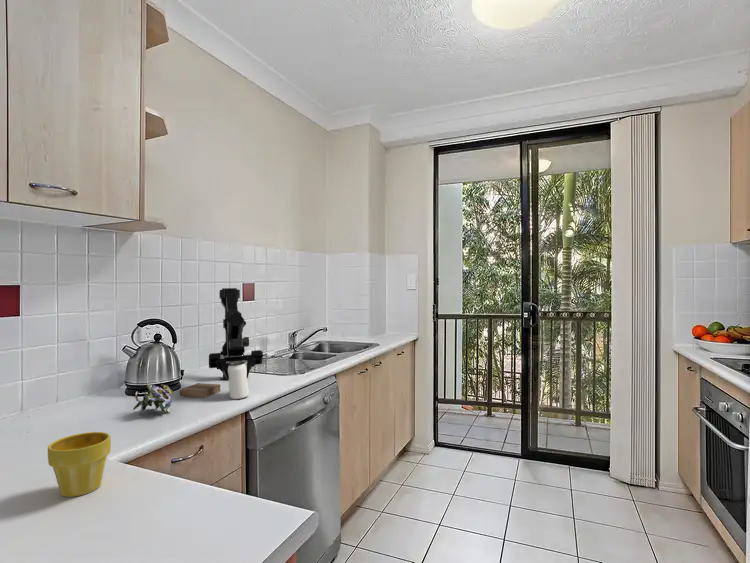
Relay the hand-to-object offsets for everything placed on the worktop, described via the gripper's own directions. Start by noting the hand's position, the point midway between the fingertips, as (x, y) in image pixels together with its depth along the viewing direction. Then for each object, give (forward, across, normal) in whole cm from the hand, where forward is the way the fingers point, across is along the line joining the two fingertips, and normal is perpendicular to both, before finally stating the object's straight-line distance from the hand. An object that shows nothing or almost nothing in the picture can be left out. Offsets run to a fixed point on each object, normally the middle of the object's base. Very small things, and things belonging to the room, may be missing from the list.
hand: (237, 378), depth 152 cm
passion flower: (+11, -26, 0) cm, 28 cm away
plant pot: (+46, -35, -36) cm, 68 cm away
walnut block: (-4, -12, +15) cm, 20 cm away
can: (+4, +1, +6) cm, 7 cm away
